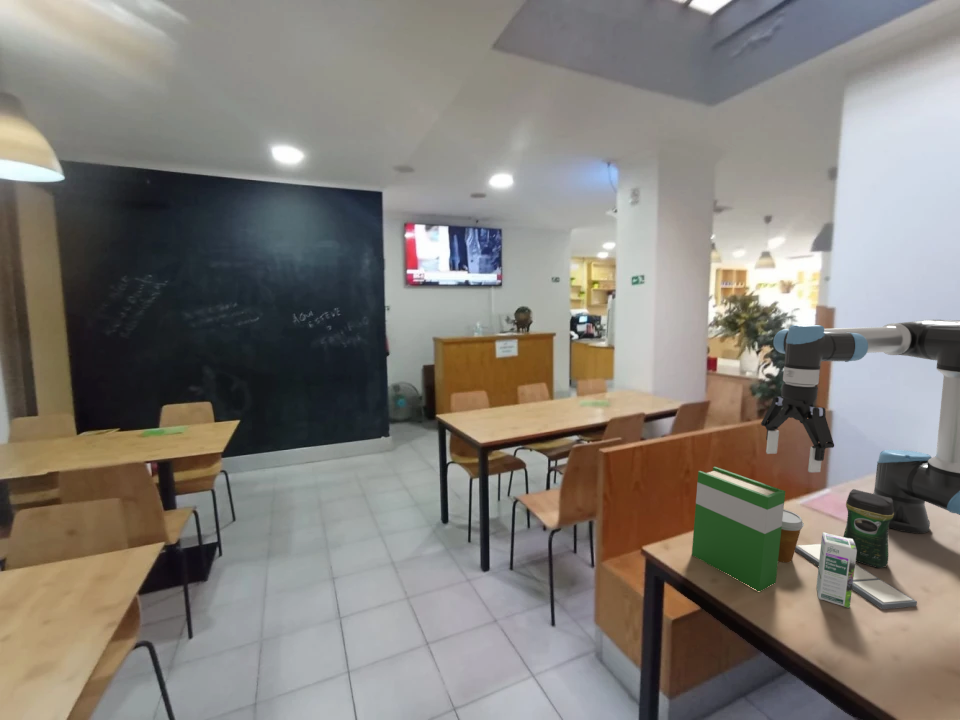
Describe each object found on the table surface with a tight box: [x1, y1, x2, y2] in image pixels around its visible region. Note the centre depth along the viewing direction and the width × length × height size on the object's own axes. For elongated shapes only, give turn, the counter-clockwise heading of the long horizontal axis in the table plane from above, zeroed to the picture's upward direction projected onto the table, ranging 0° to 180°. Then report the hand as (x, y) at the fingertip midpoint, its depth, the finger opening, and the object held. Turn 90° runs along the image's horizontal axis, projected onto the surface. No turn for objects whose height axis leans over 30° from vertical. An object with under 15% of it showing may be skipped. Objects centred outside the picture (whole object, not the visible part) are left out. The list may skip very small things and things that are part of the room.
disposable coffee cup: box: [778, 508, 805, 563], centre depth 117 cm, size 10×10×12 cm
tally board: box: [794, 543, 918, 610], centre depth 110 cm, size 9×24×1 cm, turn 7°
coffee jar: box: [842, 488, 894, 569], centre depth 116 cm, size 10×8×19 cm
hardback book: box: [691, 466, 786, 592], centre depth 111 cm, size 18×7×24 cm, turn 29°
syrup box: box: [816, 531, 857, 609], centre depth 101 cm, size 6×6×14 cm
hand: (791, 462), depth 115 cm, fingers open, 13 cm apart
